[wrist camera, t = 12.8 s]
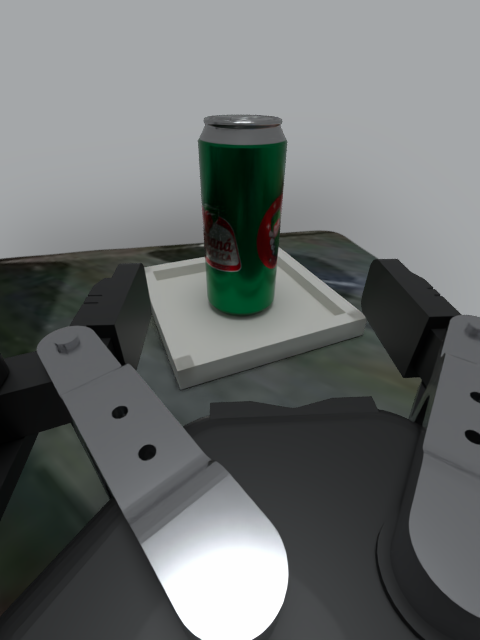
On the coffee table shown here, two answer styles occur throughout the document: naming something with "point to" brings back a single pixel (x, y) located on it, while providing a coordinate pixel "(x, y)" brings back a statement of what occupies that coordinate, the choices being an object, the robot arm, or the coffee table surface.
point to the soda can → (241, 209)
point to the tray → (244, 321)
